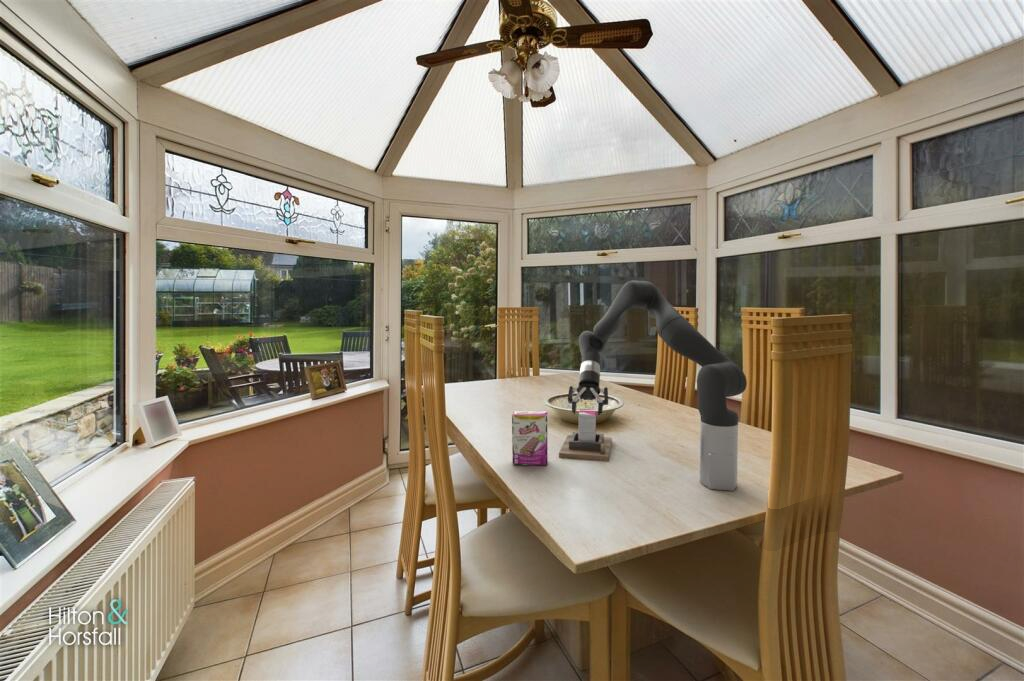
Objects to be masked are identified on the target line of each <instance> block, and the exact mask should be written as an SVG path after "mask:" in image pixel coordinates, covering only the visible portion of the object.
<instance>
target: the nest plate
mask: <svg viewBox="0 0 1024 681" xmlns="http://www.w3.org/2000/svg"><path fill="white" fill-rule="evenodd" d="M578 433H579V432H572V434H567V436H566V438H565V439H564V442H563V444H562V446H561V449H560V450H559V452H558V458H562V457H563V459H564V458H565V459H578V460H589V461H592V460H593V461H603V462H609V461H610V457H611V450H612V442H613V437H608V436H607V437H605V436H604V434H603V433H596V442H584V441H578Z"/></svg>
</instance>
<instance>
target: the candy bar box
mask: <svg viewBox="0 0 1024 681" xmlns="http://www.w3.org/2000/svg"><path fill="white" fill-rule="evenodd" d="M548 419H549V418H548V411H547V410H545V411H541V410H539V411H538V410H536V411H535V410H534V411H529V410H513V412H512V414H511V429H512V430H511V434H512V435H511V437H512V438H511V439H512V441H511V442H512V445H511V446H512V448H511V449H512V465H513V464H529V465H528V466H548V459H549V454H548V448H549V447H548V446H549V445H548V439H549V438H548V437H549V436H548V435H549V434H548V432H549V431H548Z"/></svg>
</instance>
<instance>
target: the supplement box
mask: <svg viewBox="0 0 1024 681" xmlns="http://www.w3.org/2000/svg"><path fill="white" fill-rule="evenodd" d="M596 425H597V411H596V410H581V409H580V410H579V412H578V432H577V433H578V441H584V442H596V434H597V426H596Z"/></svg>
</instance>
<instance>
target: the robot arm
mask: <svg viewBox="0 0 1024 681" xmlns="http://www.w3.org/2000/svg"><path fill="white" fill-rule="evenodd" d="M631 308H633V309H644V310H646V311H648V312H649V313H650V314H651V315H652V317H653V318H654V319H655V325H656V327H655V328H656V332H657V334H658V336H659V337H660V339H661V340H662V341H663V342H664V343H665V345H667V347H669V348H670V349H671V350H672V351H673V352H674V353H676V354H679V355H680V356H682V357H684V358H687V359H688V360H690V361H692V362H694V363H696V364H697V365H699V366H700V367H701V368H699V371H698V373H697V376H696V377H697V378H696V394H697V395H696V397H697V408H698V412H699V414H700V431H699V432H700V433H699V434H700V438H699V440H700V441H699V442H700V443H699V445H700V447H699V451H700V452H699V455H700V456H699V482H700V484H702V485H703V486H705V487H707V488H708V489H710V490H717V491H718V490H719V491H730V492H732V491H733V492H734V491H735V489H736V488H737V487H738V455H739V454H738V450H739V449H738V446H739V445H738V444H739V440H738V438H739V414H738V413H737V412H736V411H734V410H732V409H729V408H728V406H727V398H730V397H735V396H736V397H737V396H739V395H742V393H744V392H745V391H746V388H747V385H748V381H747V377H746V373H745V372H744V371H743V370H742V368H741V367H740V366H739V365H738V364H736V363H735V361H733V360H732V359H730V358H729V357H728V356H727V355H725V353H722V352H721V351H720V350H719V349H718V348H716V347H715V346H714V345H713V344H712V343H711V342H710V341H709V340H708V339H707V338H706V337H704V335H703V334H701V332H700V331H698V330H697V329H696V327H694V326H693V324H692V323H690V322H689V321H688V319H686V317H685V316H683V315H682V314H681V313H680V312H679V311H678V310H677V309H676V308H675V307H674V306H673V305H672V304H671V303H670V302H669V301H668V300H667V298H666V297H665V296H664V295H663V294H662V292H661V291H660V290H659V288H658V287H657V286H656V285H655V284H654V283H653V282H650V281H646V280H628V281H627V282H626V283H624V285H623V286H622V287H621V288H620V290H619V291H618V293H617V295H616V297H615V298H614V300H613V301H612V303H611V305H610V306H609V308H608V310H607V312H606V313H605V314H604V315H603V316H602V318H601V319H599V321H598V322H596V324H595V325H594V327H593V332H592V331H590V330H585V331H582V332H581V333H580V335H579V337H578V346H579V350H580V355H581V362H580V368H579V377H578V386H577V387H574V386H573V385H572V386H571V385H570V386H569V387H568V388H569V389H568V394H567V403H568V404H571V412H572V413H573V414H574V415H576V414H577V408H578V407H577V406H578V404H579V403H580V402H581V401H582V400H584V401H587V400H589V401H593V400H594V401H595V403H597V404H598V406H597V415H598V416H601V414H603V410H604V408H603V407H604V406H608V405H609V388H608V387H606V386H604V388H600V384H601V382H600V381H601V379H600V378H601V355H600V353H601V352H602V351H604V350H605V347H606V344H608V343H607V342H608V341H609V339H610V338H611V336H612V335H614V334H615V333H616V331H617V330H619V328H620V326H621V323H622V315H623V314H624V313H625V312H626V311H627V310H629V309H631ZM576 392H577V394H576V395H575V393H576ZM600 394H601V395H603V396H604V398H603V399H602V398H601V397H600ZM573 395H575V397H574V396H573Z"/></svg>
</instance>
